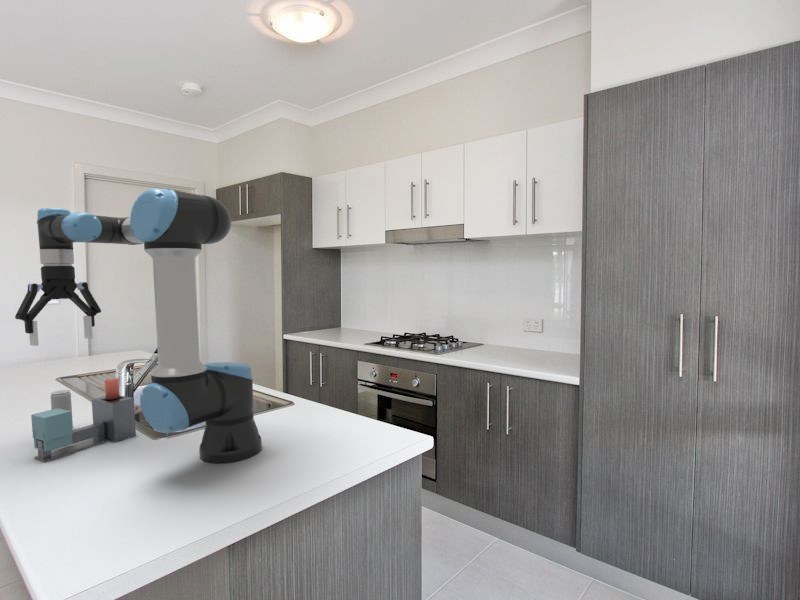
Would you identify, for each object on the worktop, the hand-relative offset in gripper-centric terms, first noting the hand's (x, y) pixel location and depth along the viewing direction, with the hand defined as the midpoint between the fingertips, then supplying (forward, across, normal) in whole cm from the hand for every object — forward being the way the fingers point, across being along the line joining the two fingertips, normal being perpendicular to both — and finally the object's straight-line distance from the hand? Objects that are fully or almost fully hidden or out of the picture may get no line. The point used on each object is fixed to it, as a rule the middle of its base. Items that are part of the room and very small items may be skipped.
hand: (62, 341), depth 128 cm
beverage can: (+28, -3, -10) cm, 30 cm away
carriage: (+25, +8, +9) cm, 28 cm away
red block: (+17, -7, +9) cm, 20 cm away
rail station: (+28, +1, +9) cm, 29 cm away
